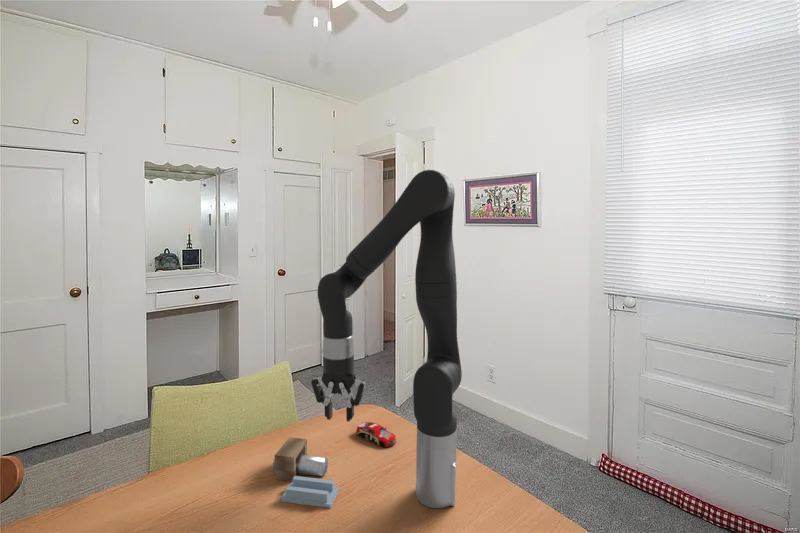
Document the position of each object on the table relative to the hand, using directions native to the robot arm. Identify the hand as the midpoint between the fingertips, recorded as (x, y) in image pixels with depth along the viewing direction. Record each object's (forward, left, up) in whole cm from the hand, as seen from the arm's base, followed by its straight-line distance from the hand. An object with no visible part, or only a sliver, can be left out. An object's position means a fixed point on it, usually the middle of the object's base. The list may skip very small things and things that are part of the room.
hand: (339, 418), depth 102 cm
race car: (-5, -19, -16) cm, 25 cm away
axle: (+11, 0, -16) cm, 19 cm away
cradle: (+5, +8, -15) cm, 18 cm away
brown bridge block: (+13, 0, -15) cm, 20 cm away
